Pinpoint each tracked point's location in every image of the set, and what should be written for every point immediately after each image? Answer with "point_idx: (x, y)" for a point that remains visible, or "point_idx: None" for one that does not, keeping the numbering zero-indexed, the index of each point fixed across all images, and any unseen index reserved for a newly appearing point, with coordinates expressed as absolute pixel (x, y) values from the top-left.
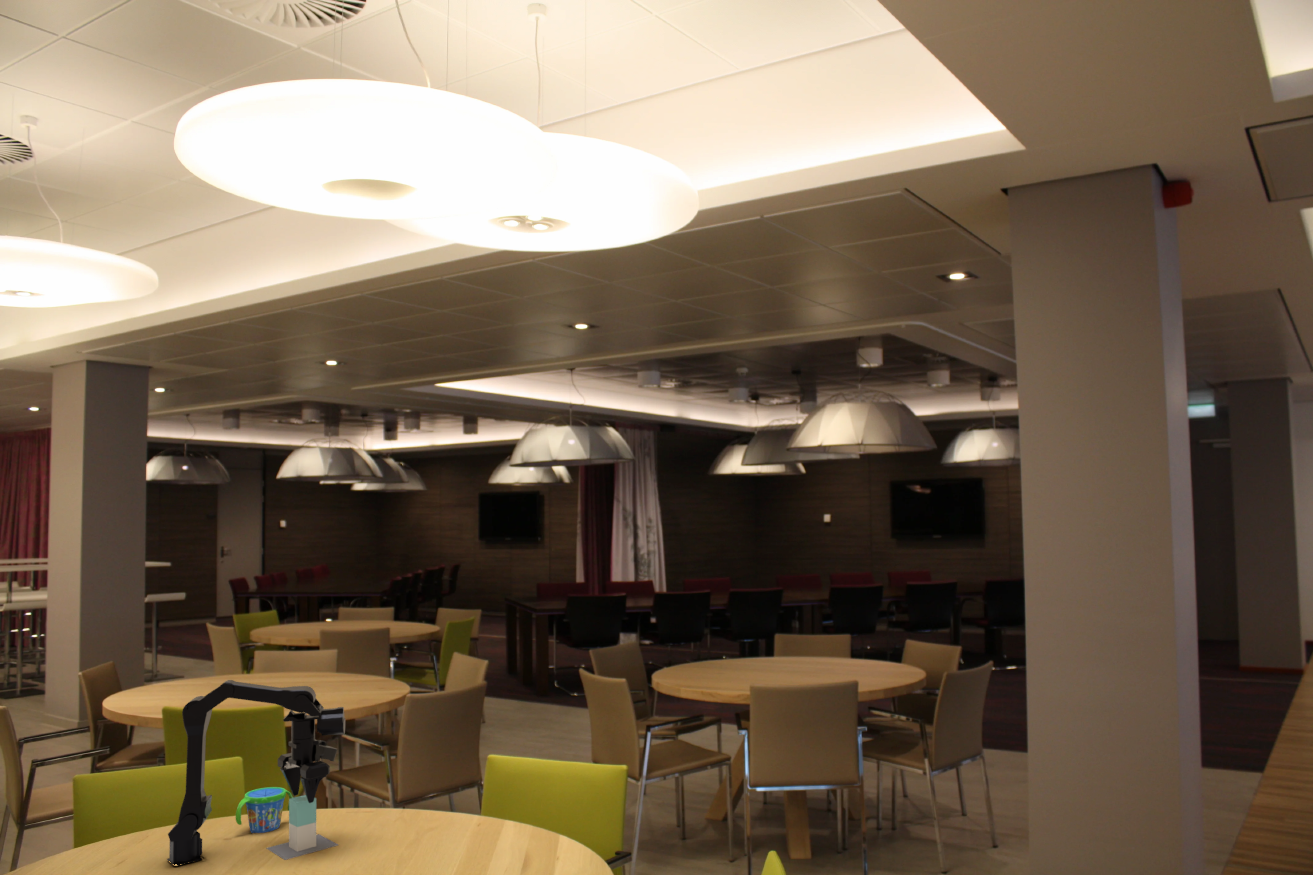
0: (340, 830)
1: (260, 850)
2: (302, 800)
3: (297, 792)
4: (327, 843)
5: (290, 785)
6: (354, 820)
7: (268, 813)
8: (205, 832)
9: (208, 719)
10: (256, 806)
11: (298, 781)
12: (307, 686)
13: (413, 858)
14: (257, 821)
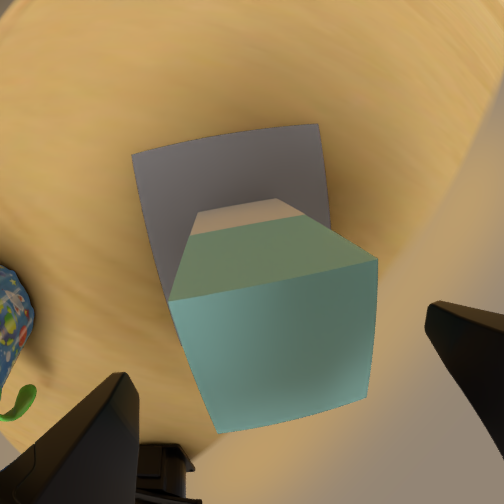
0: (123, 73)
1: (173, 352)
2: (342, 368)
3: (123, 389)
4: (272, 152)
5: (133, 487)
6: (62, 29)
7: (7, 336)
8: (6, 392)
9: None
10: (2, 385)
11: (83, 464)
12: None
13: (476, 53)
14: (20, 349)
